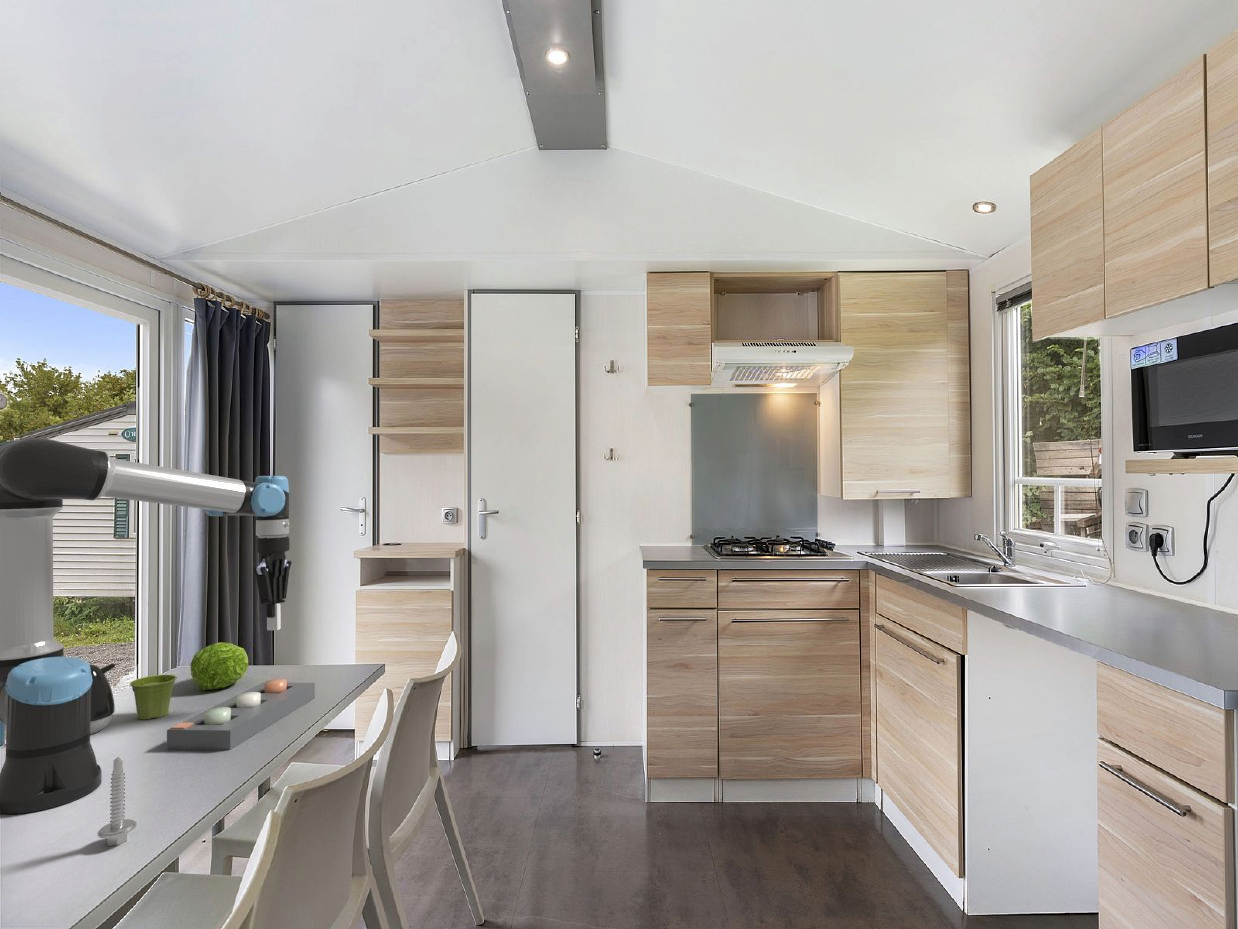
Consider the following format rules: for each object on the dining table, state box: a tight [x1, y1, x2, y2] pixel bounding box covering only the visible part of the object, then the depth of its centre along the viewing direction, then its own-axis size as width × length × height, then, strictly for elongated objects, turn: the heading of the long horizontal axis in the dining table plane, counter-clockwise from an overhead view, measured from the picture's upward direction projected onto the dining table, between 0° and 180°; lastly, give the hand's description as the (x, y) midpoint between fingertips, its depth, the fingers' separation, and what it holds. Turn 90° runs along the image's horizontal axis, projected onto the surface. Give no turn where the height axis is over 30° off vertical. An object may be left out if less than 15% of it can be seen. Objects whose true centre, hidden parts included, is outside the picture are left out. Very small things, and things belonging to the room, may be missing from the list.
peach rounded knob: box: [263, 678, 288, 693], centre depth 168 cm, size 5×5×4 cm
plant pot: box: [129, 673, 178, 720], centre depth 162 cm, size 9×9×9 cm
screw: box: [96, 756, 137, 847], centre depth 103 cm, size 13×5×5 cm
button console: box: [166, 682, 316, 751], centre depth 157 cm, size 34×14×4 cm, turn 176°
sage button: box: [204, 707, 231, 725], centre depth 146 cm, size 5×5×4 cm
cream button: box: [236, 692, 261, 708], centre depth 157 cm, size 5×5×4 cm
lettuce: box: [190, 642, 249, 691], centre depth 189 cm, size 13×22×14 cm
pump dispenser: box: [88, 663, 116, 735], centre depth 151 cm, size 10×10×15 cm
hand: (273, 629), depth 168 cm, fingers closed
